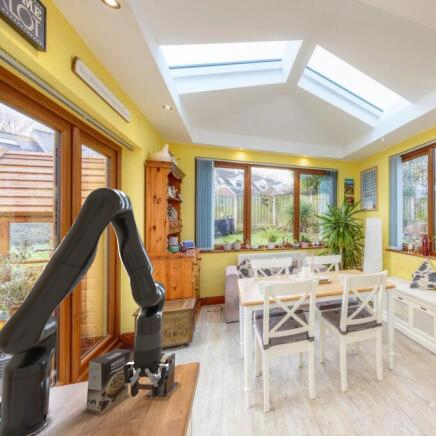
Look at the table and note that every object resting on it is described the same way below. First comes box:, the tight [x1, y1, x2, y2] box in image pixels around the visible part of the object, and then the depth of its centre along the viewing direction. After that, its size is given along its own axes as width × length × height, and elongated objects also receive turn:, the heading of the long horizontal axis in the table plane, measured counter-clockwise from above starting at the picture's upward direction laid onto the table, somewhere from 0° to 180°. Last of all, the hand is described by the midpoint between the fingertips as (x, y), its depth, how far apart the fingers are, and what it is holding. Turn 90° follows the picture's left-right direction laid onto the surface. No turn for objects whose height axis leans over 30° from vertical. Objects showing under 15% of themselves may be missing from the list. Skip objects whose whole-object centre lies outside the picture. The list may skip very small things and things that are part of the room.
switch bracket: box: [145, 352, 180, 398], centre depth 94 cm, size 8×7×13 cm
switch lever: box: [136, 354, 170, 391], centre depth 89 cm, size 12×5×2 cm, turn 179°
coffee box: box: [86, 348, 131, 413], centre depth 87 cm, size 9×6×16 cm
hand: (145, 395), depth 84 cm, fingers open, 6 cm apart
